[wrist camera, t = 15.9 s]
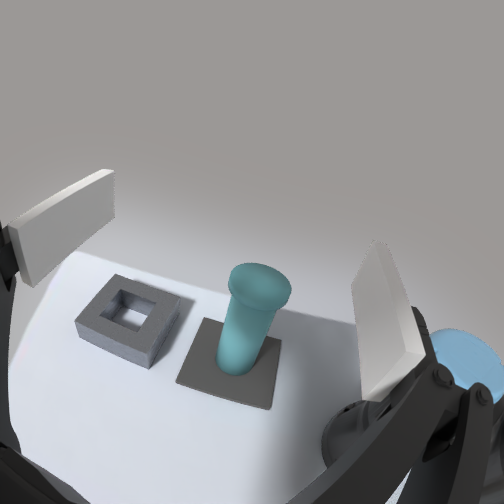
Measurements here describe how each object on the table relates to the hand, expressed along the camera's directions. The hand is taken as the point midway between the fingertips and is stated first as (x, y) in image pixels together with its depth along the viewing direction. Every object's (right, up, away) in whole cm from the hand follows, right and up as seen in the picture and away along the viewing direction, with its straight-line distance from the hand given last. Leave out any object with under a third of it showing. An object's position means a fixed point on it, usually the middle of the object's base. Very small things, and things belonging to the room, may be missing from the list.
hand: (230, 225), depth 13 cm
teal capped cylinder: (-2, -18, +29) cm, 34 cm away
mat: (-2, -19, +30) cm, 35 cm away
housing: (-19, -13, +30) cm, 38 cm away
